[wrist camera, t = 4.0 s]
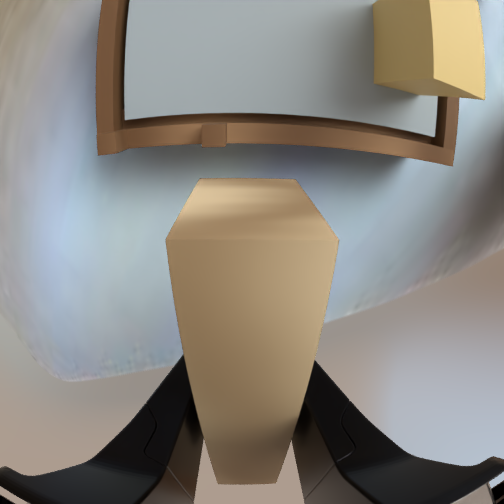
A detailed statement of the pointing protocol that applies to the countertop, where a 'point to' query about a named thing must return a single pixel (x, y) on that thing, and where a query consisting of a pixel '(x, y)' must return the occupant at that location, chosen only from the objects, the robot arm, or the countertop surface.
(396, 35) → the lid
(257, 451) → the tan block
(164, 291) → the countertop surface
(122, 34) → the brown frame
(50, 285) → the countertop surface
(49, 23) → the countertop surface
